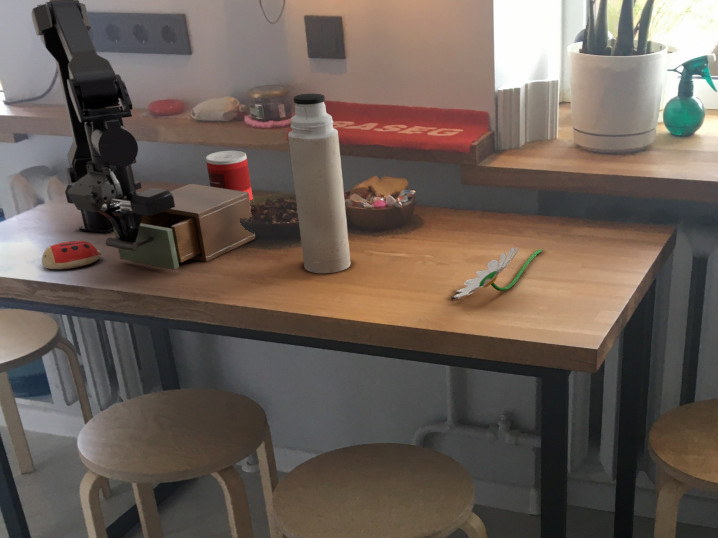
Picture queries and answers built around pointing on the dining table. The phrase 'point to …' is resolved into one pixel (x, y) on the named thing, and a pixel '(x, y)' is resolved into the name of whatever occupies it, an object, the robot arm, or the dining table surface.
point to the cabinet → (214, 217)
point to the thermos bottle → (318, 186)
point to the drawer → (161, 241)
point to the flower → (493, 274)
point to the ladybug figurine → (70, 255)
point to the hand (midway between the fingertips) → (130, 247)
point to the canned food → (229, 171)
